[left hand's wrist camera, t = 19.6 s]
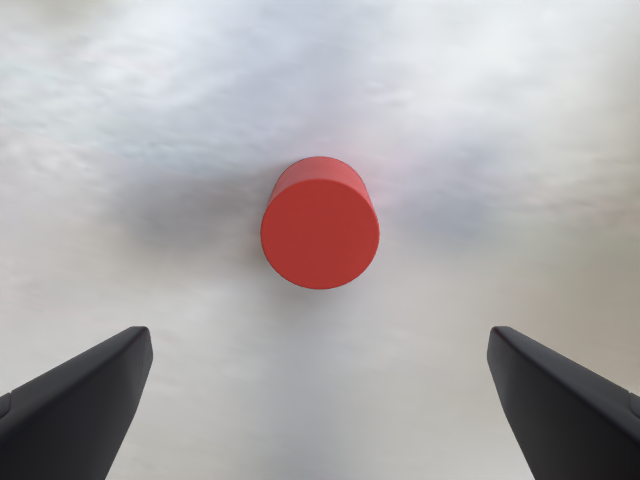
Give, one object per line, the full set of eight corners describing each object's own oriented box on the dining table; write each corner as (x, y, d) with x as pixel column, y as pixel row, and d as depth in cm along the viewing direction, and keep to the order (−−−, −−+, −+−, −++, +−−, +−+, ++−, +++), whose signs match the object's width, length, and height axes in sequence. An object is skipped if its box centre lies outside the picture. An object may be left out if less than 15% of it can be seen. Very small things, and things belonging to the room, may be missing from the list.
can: (374, 240, 24) (387, 279, 19) (283, 256, 24) (275, 298, 20) (360, 147, 22) (370, 167, 17) (261, 166, 22) (247, 190, 18)
